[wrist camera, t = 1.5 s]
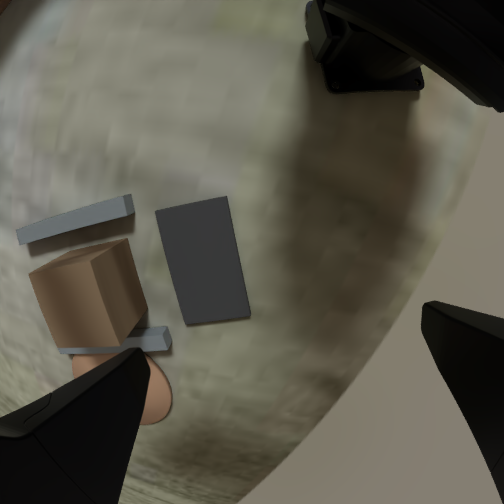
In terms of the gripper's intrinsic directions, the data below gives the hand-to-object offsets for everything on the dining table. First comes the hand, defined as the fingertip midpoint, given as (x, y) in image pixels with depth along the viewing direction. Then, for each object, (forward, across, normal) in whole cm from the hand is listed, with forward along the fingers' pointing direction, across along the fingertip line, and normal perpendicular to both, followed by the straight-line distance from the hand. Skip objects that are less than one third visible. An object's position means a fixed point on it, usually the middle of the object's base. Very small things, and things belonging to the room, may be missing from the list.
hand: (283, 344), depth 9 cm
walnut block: (+10, +12, 0) cm, 16 cm away
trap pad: (+10, +4, 0) cm, 11 cm away
